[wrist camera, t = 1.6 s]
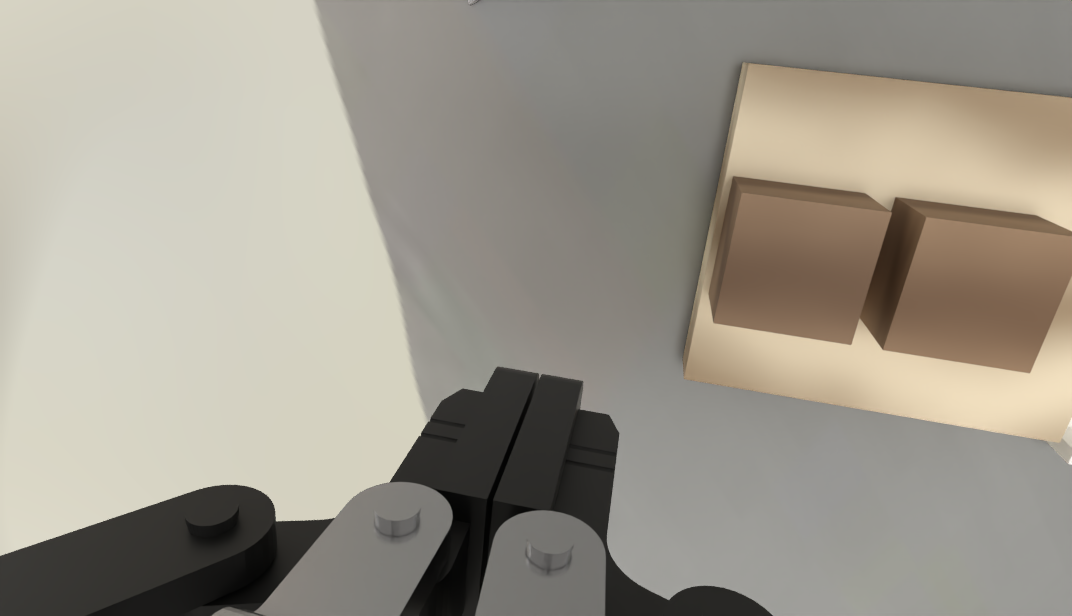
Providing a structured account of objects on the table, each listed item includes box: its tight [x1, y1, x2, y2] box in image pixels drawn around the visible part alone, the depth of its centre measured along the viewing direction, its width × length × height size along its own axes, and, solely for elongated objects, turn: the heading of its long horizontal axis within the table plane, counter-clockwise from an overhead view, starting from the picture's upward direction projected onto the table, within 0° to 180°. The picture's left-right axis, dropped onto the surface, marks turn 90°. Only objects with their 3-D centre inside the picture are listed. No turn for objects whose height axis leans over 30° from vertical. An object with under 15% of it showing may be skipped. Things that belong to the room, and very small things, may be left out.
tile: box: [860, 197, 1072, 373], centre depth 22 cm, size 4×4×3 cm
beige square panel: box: [683, 62, 1072, 443], centre depth 25 cm, size 12×14×2 cm
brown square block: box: [708, 176, 892, 345], centre depth 23 cm, size 4×4×3 cm
